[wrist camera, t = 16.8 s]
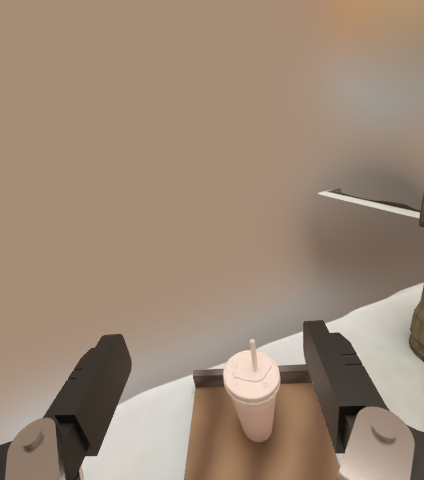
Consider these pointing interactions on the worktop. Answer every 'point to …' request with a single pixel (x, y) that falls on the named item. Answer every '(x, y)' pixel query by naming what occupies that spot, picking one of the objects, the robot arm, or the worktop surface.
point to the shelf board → (269, 451)
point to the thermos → (418, 315)
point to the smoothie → (253, 390)
